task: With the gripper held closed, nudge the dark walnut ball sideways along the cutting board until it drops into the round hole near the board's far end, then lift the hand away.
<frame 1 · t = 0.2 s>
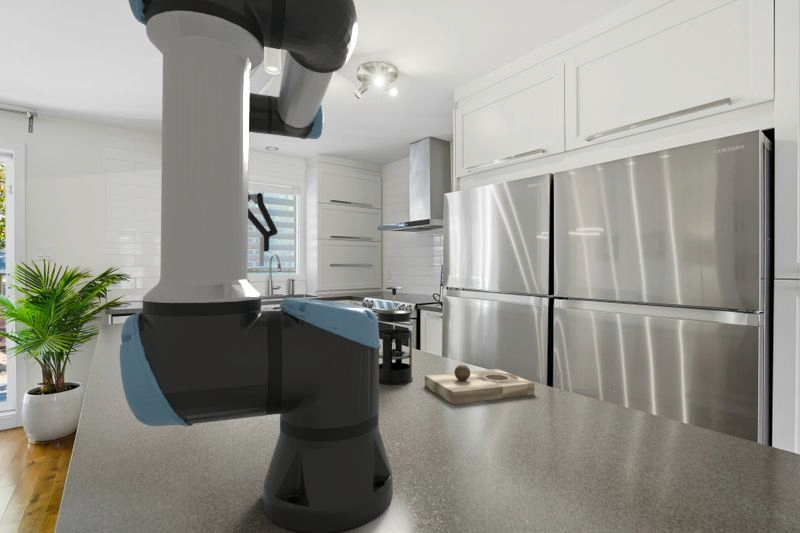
hand: (229, 266, 91), 28 cm above the countertop, tool pointing down, fingers open, 13 cm apart
ball: (462, 372, 92), point 4 cm above the countertop, touching cutting board
french press: (393, 381, 102), on the countertop
cutting board: (477, 390, 93), on the countertop
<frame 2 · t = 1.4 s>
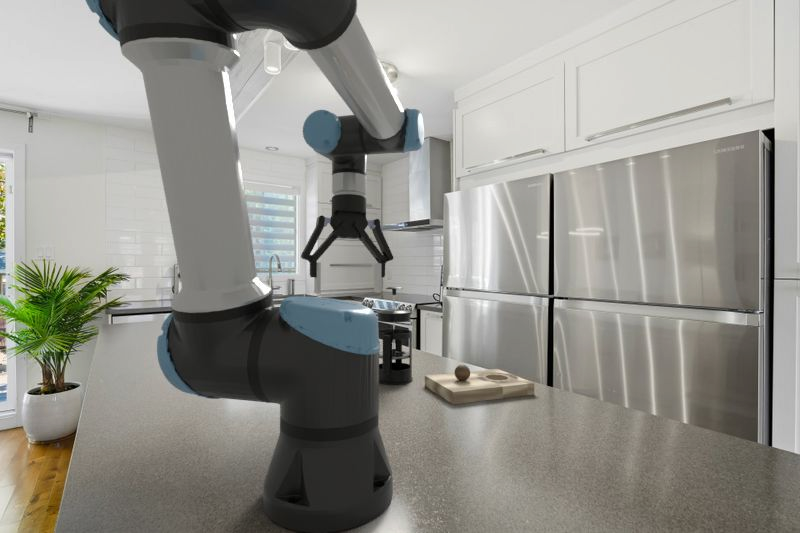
hand: (348, 292, 90), 22 cm above the countertop, tool pointing down, fingers open, 13 cm apart
nothing on the countertop moved.
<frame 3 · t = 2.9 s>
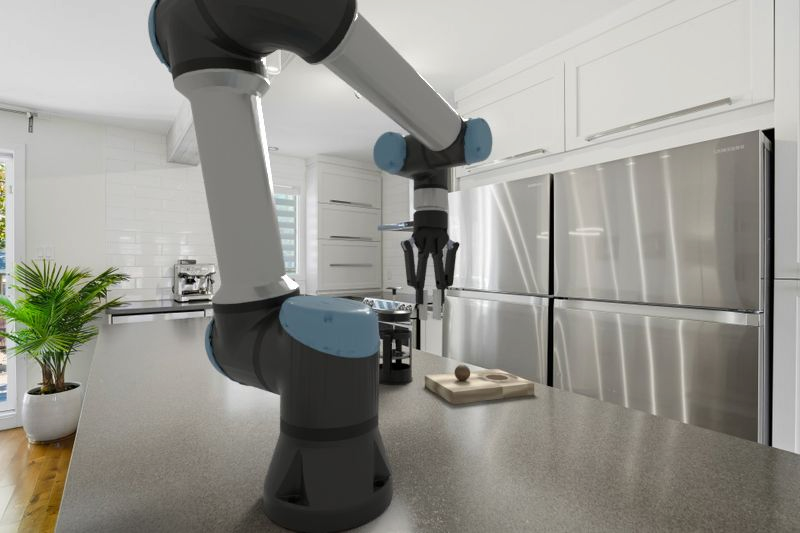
hand: (430, 319, 89), 17 cm above the countertop, tool pointing down, fingers open, 3 cm apart
nothing on the countertop moved.
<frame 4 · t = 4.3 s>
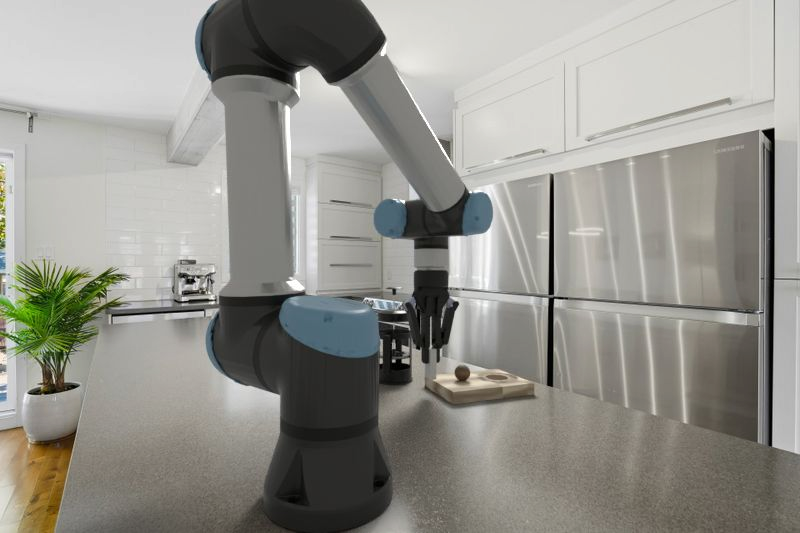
hand: (430, 378, 89), 4 cm above the countertop, tool pointing down, fingers closed
nothing on the countertop moved.
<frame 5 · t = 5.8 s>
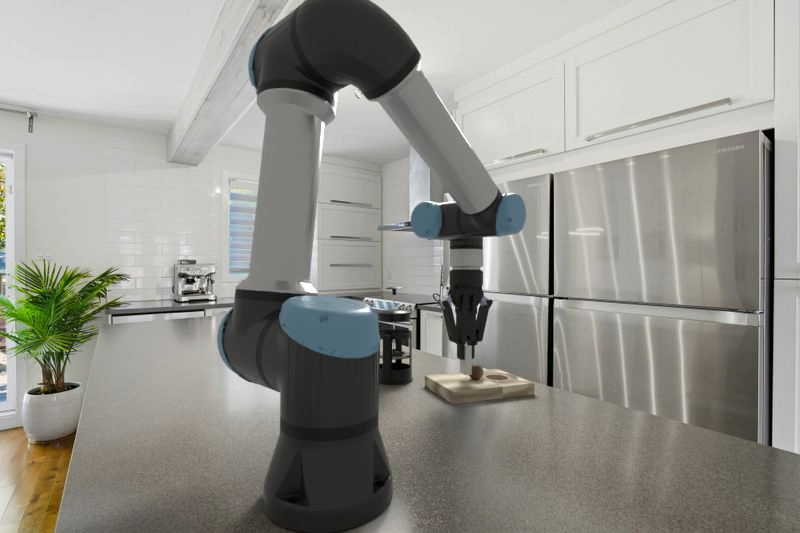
hand: (465, 373, 93), 4 cm above the countertop, tool pointing down, fingers closed
ball: (475, 371, 93), point 4 cm above the countertop, tilted 100°, touching cutting board
everything else where it was.
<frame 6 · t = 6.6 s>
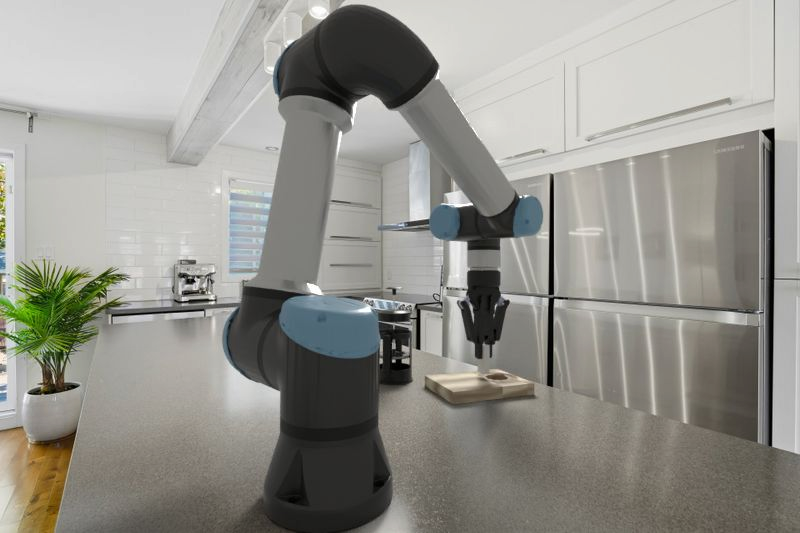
hand: (483, 372, 94), 4 cm above the countertop, tool pointing down, fingers closed
ball: (499, 380, 96), point 2 cm above the countertop, tilted 33°
everything else where it was.
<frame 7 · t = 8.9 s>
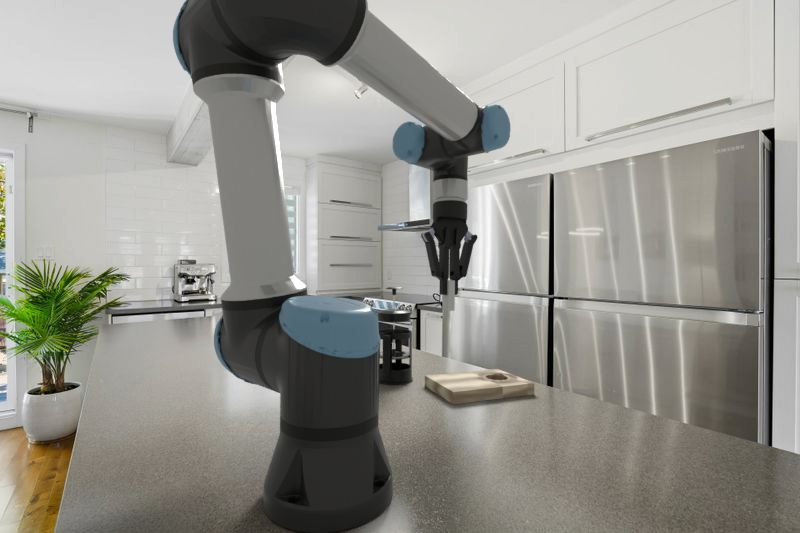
hand: (448, 310, 90), 18 cm above the countertop, tool pointing down, fingers closed
ball: (498, 380, 95), point 2 cm above the countertop, tilted 42°
everything else where it was.
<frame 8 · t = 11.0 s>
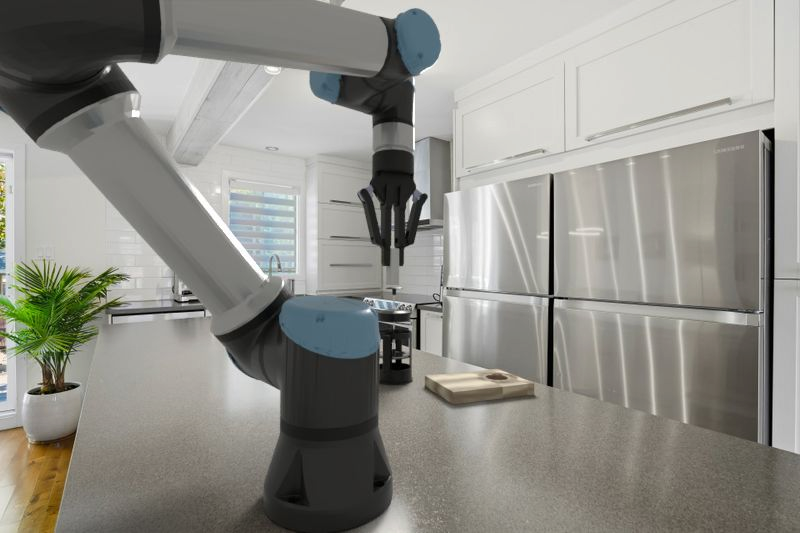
hand: (392, 284, 74), 24 cm above the countertop, tool pointing down, fingers closed
ball: (497, 380, 95), point 2 cm above the countertop, tilted 51°
everything else where it was.
at the end: ball 0.2 cm from the target spot on the cutting board, point 1.7 cm above the cutting board's base; ball touching countertop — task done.
